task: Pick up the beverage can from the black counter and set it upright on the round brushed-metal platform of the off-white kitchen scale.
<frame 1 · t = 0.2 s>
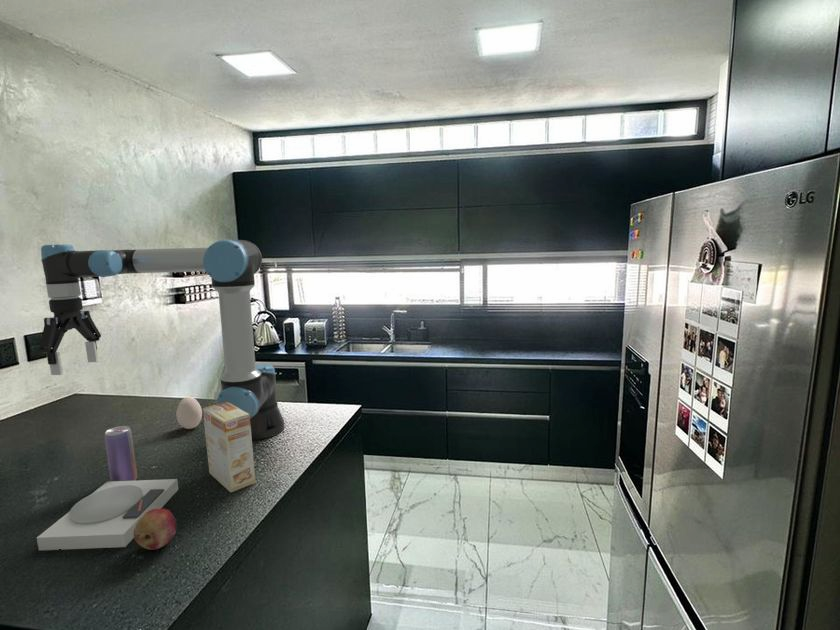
hand: (76, 368, 131), 28 cm above the counter, fingers open, 13 cm apart
beverage can: (124, 482, 119), on the counter
coffeecake box: (232, 478, 120), on the counter
scale: (116, 516, 104), on the counter
fruit: (158, 546, 93), on the counter
egg: (191, 428, 154), on the counter
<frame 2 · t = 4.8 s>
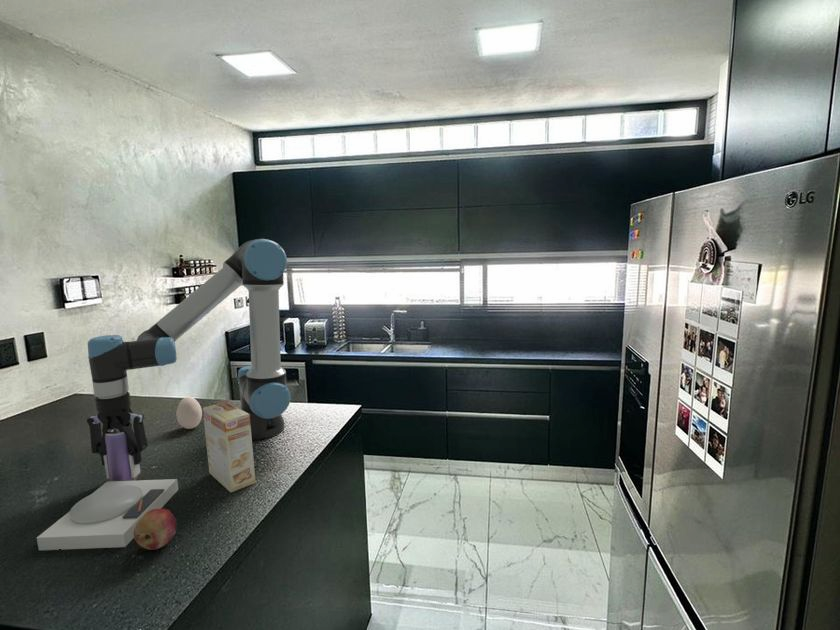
hand: (123, 475, 119), 2 cm above the counter, fingers closed on beverage can, 6 cm apart
beverage can: (124, 482, 119), on the counter, touching gripper
everything else where it was.
when the fingers open (7 cm above the counter, at t = 10.2 s): beverage can drops 1 cm, resting on scale.
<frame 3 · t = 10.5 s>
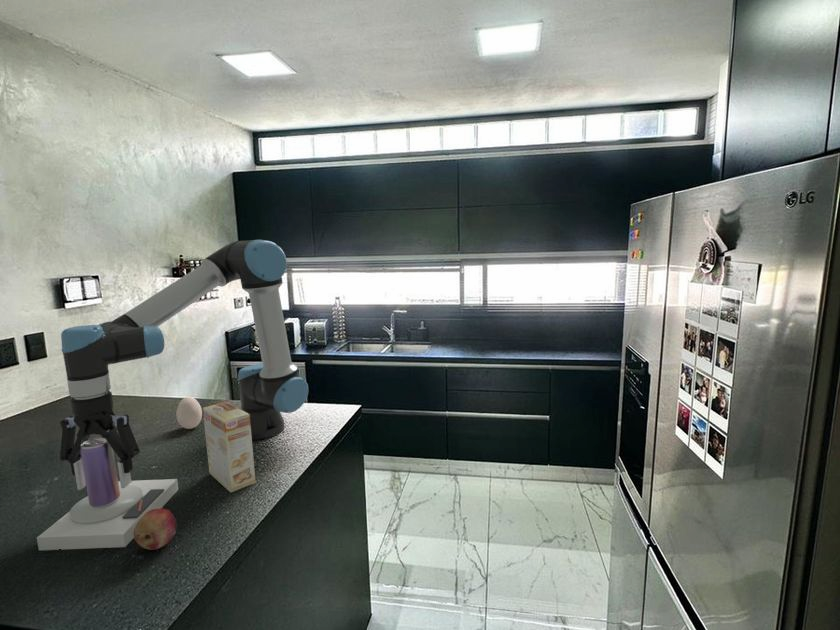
hand: (105, 485, 102), 8 cm above the counter, fingers open, 9 cm apart
beverage can: (105, 502, 103), point 4 cm above the counter, touching scale
everything else where it was.
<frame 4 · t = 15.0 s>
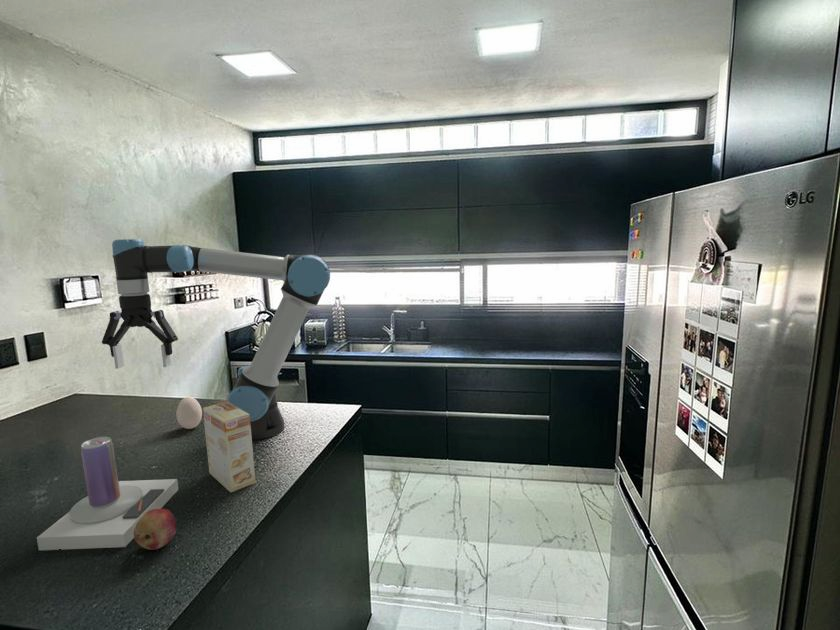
hand: (143, 366, 127), 29 cm above the counter, fingers open, 13 cm apart
nothing on the counter moved.
at the end: beverage can inside the target area on the scale (0.4 cm from its centre), point 3.8 cm above the scale's base; beverage can tilted 0°; the gripper is holding nothing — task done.
